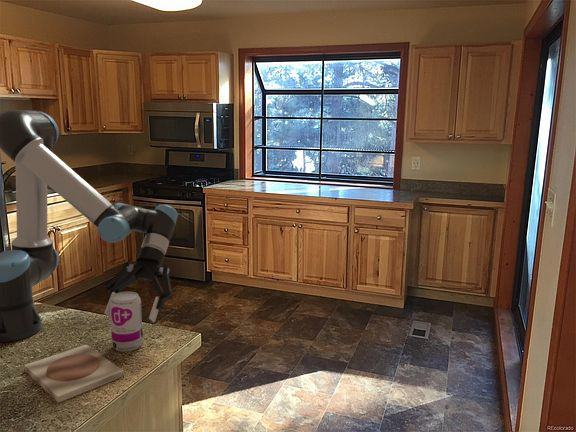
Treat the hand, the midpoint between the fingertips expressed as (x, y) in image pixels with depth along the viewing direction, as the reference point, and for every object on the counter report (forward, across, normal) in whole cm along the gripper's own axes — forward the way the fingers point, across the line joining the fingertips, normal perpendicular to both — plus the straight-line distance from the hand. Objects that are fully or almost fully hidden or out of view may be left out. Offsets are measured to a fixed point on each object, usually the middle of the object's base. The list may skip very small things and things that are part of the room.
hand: (129, 317), depth 134 cm
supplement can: (+6, +1, -6) cm, 9 cm away
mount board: (+18, +6, +6) cm, 20 cm away
